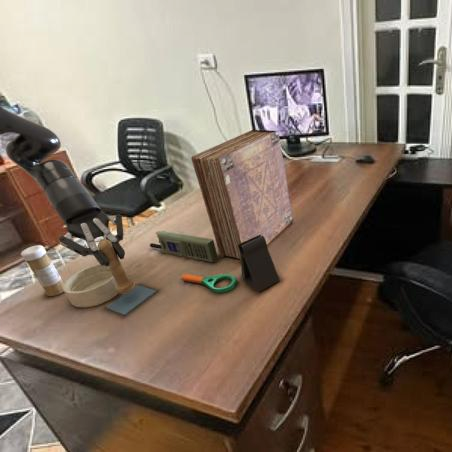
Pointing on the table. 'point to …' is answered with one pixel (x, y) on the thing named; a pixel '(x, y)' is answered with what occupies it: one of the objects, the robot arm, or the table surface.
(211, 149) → the book
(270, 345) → the table surface
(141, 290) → the rest mat
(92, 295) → the bowl
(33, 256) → the sprinkles bottle
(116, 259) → the wooden pestle
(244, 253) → the phone stand
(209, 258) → the handheld radio
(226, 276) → the magnifying glass
